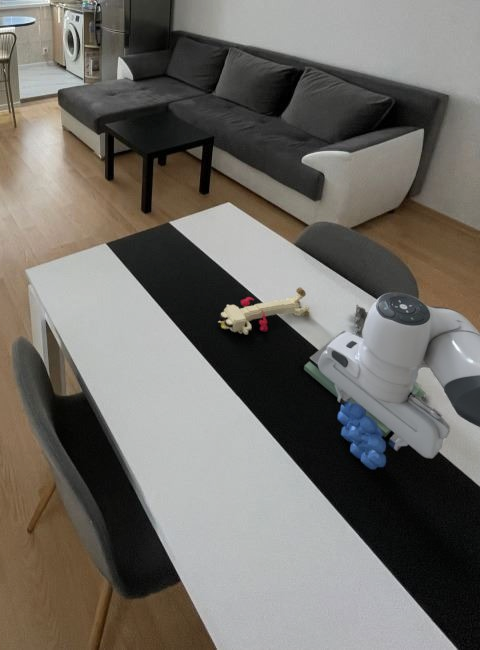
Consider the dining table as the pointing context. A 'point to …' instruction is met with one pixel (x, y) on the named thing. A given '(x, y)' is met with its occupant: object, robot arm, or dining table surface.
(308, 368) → the scale
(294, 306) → the beige blocky toy
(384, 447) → the grapes
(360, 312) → the egg carton
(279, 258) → the dining table surface
